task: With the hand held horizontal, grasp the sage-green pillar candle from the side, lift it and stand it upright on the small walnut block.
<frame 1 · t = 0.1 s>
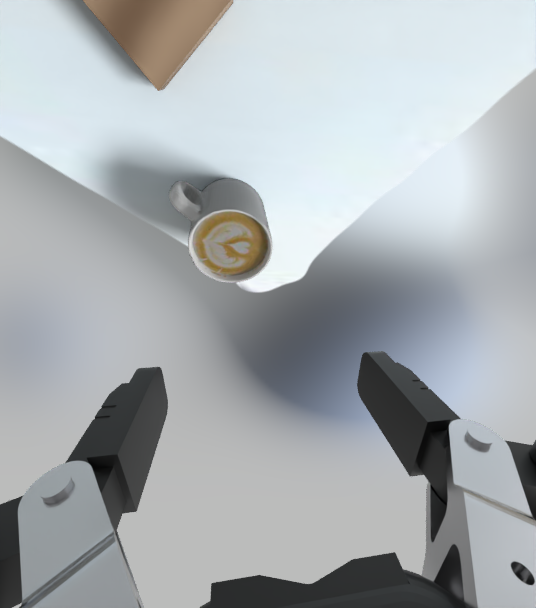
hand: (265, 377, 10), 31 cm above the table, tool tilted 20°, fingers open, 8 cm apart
coffee mug: (222, 204, 37), on the table
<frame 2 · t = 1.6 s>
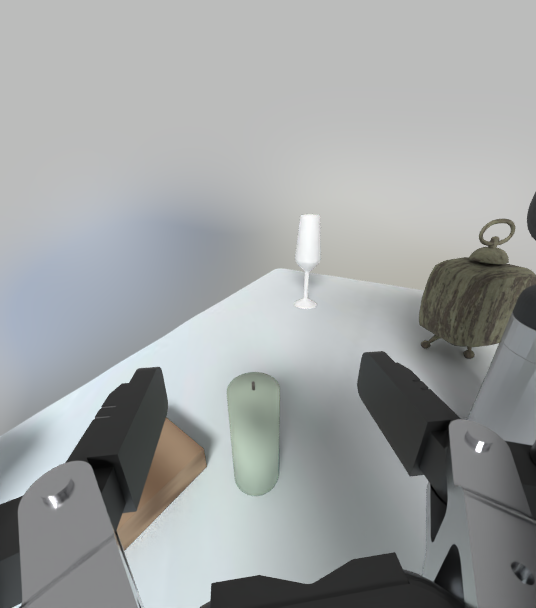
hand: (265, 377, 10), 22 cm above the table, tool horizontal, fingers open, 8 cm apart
walnut block: (142, 475, 28), on the table
tabletop clock: (457, 353, 50), on the table
champagne flute: (305, 304, 72), on the table
candle: (256, 471, 29), on the table
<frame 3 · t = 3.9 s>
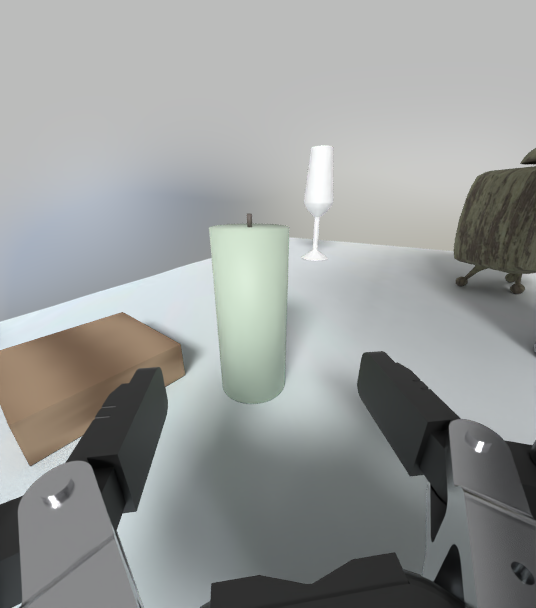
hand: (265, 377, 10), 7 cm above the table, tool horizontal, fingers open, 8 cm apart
walnut block: (95, 381, 20), on the table
tabletop clock: (501, 290, 41), on the table
champagne flute: (314, 258, 64), on the table
candle: (253, 381, 21), on the table
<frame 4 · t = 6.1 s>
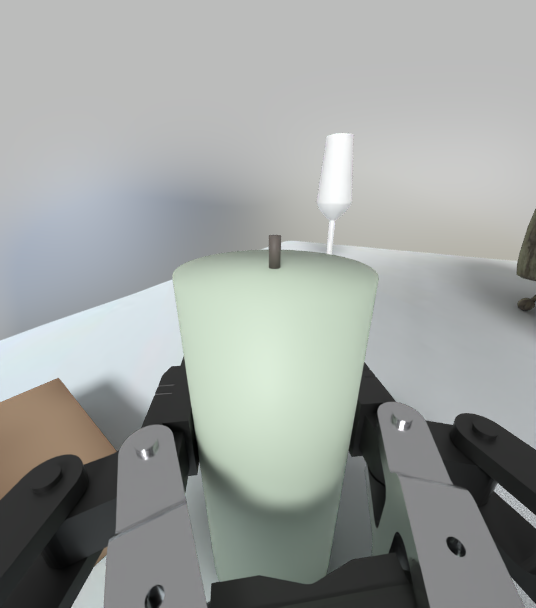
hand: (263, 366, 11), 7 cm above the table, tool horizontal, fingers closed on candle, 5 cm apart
champagne flute: (327, 268, 55), on the table
candle: (271, 534, 11), on the table, touching gripper
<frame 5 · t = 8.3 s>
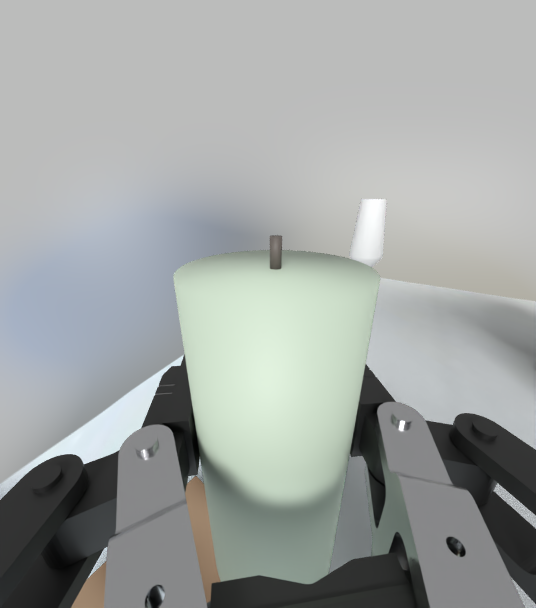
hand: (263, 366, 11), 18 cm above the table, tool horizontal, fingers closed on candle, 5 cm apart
champagne flute: (357, 311, 59), on the table
candle: (272, 535, 11), point 11 cm above the table, touching gripper
when the fingers open (11 cm above the table, at t = 10.3 s): candle drops 1 cm, resting on walnut block.
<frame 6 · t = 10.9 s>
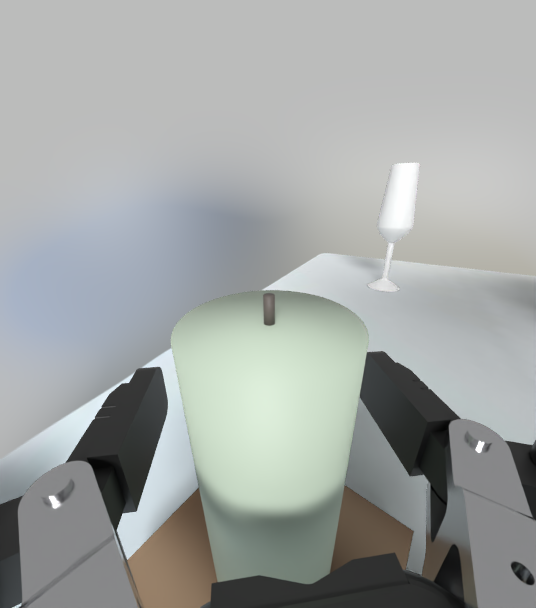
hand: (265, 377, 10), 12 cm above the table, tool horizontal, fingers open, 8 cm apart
walnut block: (270, 586, 13), on the table
champagne flute: (383, 287, 57), on the table
candle: (272, 556, 12), point 3 cm above the table, touching walnut block
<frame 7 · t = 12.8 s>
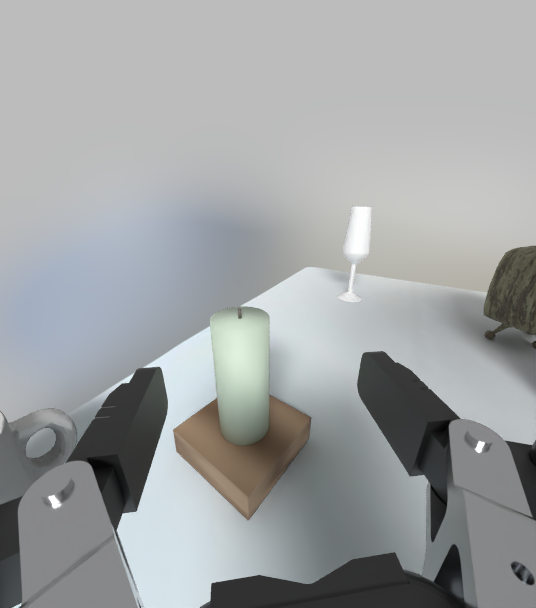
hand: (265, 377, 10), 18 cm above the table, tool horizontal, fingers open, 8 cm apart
walnut block: (244, 444, 27), on the table
tabletop clock: (524, 344, 49), on the table
champagne flute: (349, 298, 72), on the table
candle: (244, 423, 26), point 3 cm above the table, touching walnut block
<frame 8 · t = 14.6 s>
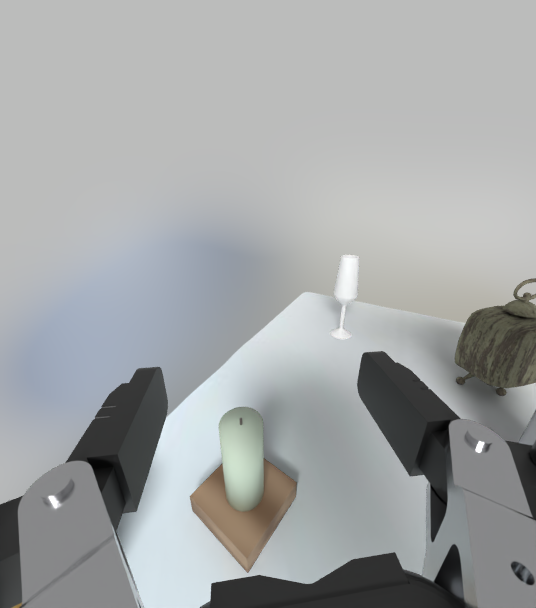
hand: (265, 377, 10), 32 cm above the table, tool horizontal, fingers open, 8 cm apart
walnut block: (245, 503, 35), on the table
tabletop clock: (490, 389, 56), on the table
champagne flute: (340, 334, 79), on the table
candle: (244, 489, 34), point 3 cm above the table, touching walnut block
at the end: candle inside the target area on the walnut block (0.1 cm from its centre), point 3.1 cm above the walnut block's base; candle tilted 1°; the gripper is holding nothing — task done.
